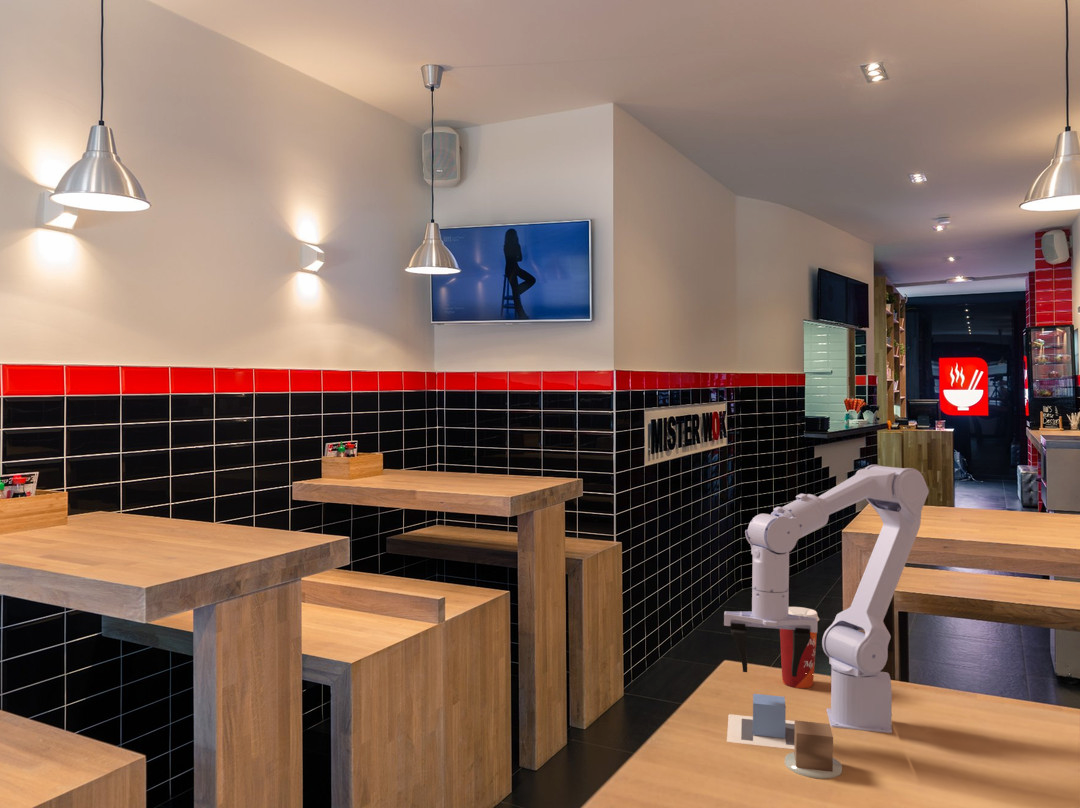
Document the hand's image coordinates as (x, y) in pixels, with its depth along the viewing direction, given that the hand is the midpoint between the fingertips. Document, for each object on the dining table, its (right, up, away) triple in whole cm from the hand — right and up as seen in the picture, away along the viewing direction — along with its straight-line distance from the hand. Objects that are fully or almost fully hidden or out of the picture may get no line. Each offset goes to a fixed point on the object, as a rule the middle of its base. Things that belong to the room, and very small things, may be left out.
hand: (769, 672), depth 132 cm
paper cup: (+12, -10, +25) cm, 29 cm away
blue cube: (0, -10, 0) cm, 10 cm away
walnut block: (+3, -9, -13) cm, 16 cm away
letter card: (0, -10, 0) cm, 10 cm away
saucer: (+3, -10, -13) cm, 16 cm away
